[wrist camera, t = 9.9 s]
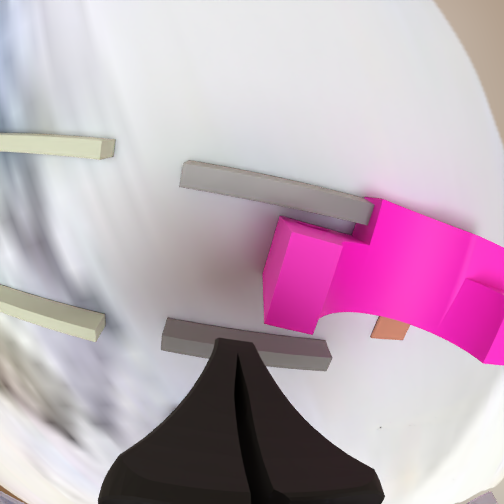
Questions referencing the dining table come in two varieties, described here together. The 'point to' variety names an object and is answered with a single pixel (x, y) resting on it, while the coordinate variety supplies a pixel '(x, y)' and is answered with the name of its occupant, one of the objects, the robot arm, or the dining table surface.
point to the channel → (287, 195)
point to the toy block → (390, 277)
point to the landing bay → (37, 307)
